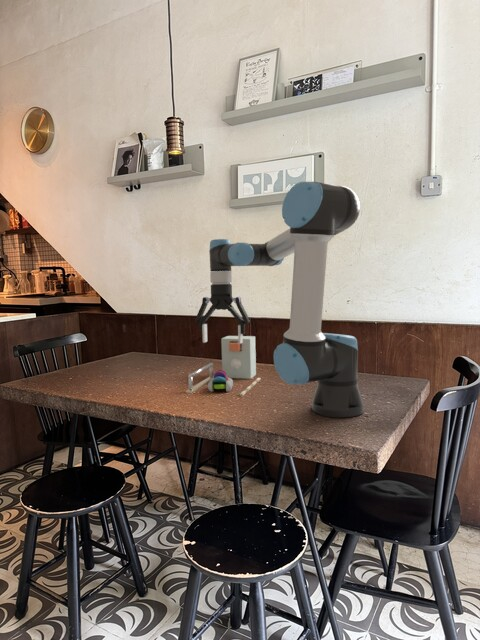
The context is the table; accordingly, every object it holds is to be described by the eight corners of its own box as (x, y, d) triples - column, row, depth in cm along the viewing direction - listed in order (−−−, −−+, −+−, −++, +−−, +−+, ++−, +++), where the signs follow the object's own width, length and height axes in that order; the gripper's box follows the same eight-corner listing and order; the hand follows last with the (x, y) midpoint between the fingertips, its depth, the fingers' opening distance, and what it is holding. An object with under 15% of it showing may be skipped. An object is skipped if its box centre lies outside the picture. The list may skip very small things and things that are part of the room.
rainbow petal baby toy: (233, 386, 164) (233, 367, 163) (230, 393, 154) (230, 373, 154) (211, 386, 165) (210, 367, 164) (206, 393, 155) (206, 373, 155)
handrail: (191, 393, 156) (190, 375, 156) (186, 392, 157) (185, 375, 156) (215, 377, 180) (215, 362, 179) (210, 377, 181) (210, 361, 180)
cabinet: (250, 379, 175) (249, 339, 174) (222, 377, 179) (221, 338, 177) (256, 374, 183) (255, 336, 182) (228, 373, 187) (227, 335, 185)
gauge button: (238, 351, 173) (238, 343, 173) (229, 350, 174) (228, 343, 174) (241, 349, 176) (240, 342, 176) (231, 349, 177) (231, 342, 177)
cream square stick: (242, 396, 151) (242, 394, 151) (239, 395, 151) (239, 394, 151) (260, 379, 174) (260, 377, 174) (258, 379, 175) (258, 377, 175)
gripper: (257, 282, 156) (258, 341, 159) (193, 283, 164) (195, 340, 166) (251, 283, 149) (252, 345, 151) (184, 284, 157) (186, 343, 159)
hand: (222, 342), depth 159 cm, fingers open, 13 cm apart
